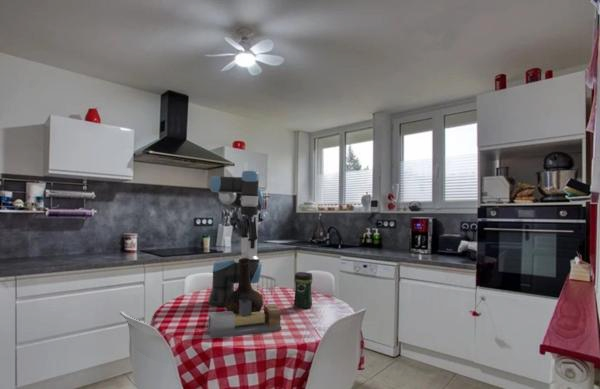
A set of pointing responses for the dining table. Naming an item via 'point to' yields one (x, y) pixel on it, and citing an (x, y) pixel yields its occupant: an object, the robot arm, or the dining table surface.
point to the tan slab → (248, 314)
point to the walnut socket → (272, 315)
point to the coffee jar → (303, 290)
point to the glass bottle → (244, 291)
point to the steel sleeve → (221, 321)
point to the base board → (245, 330)
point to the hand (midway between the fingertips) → (247, 254)
